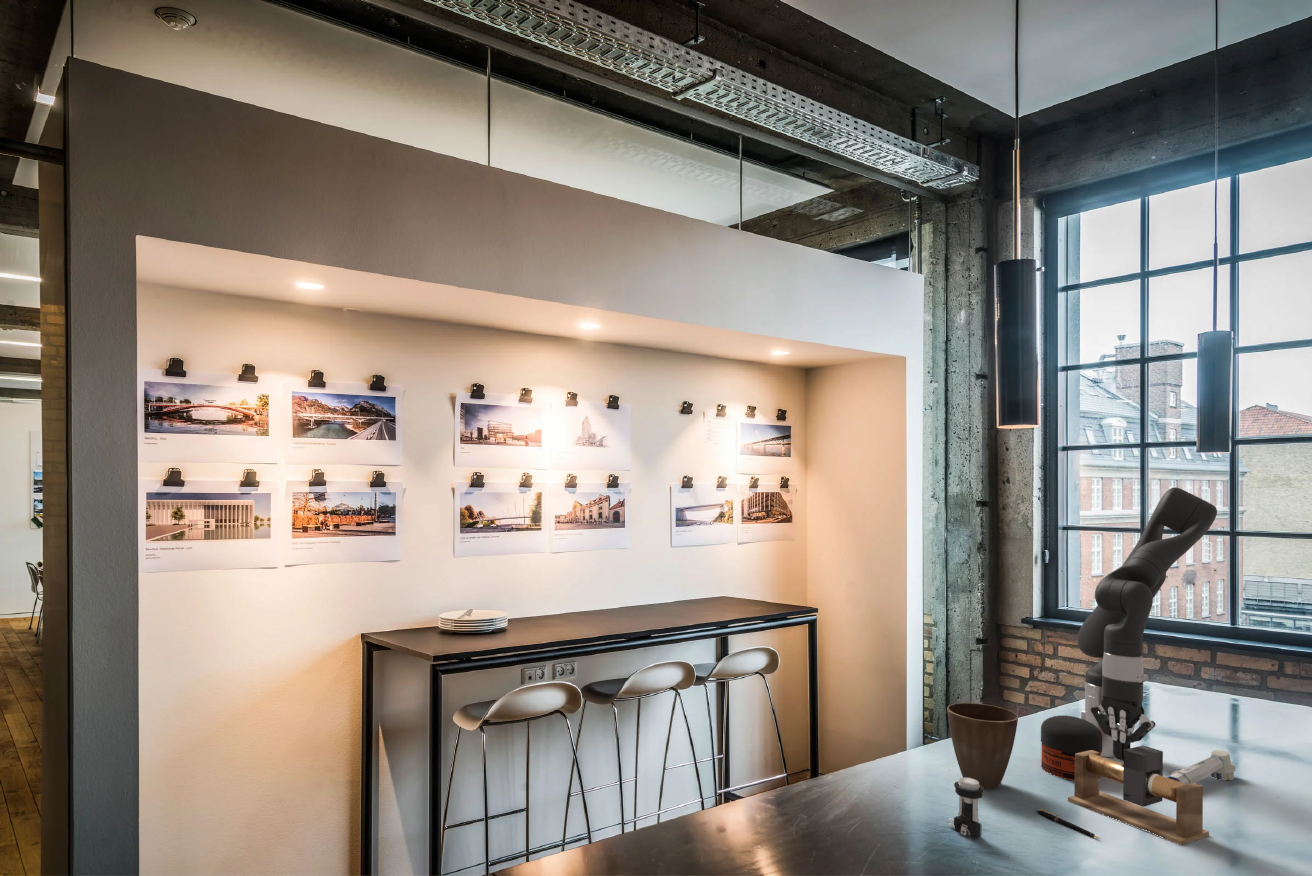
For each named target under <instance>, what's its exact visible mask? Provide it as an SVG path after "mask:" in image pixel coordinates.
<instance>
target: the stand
mask: <svg viewBox="0 0 1312 876" xmlns="http://www.w3.org/2000/svg"><path fill="white" fill-rule="evenodd" d="M1090 754H1096V755H1100V753H1099V752H1096V751H1093V750H1089V751H1085V752H1081V753H1076V754H1075V781H1074V795H1072V796H1068V797H1067V802H1070V803H1072V804H1074V805H1077V806H1079V807H1081V808H1084V809H1087V810H1090V811H1092V812H1094V811H1095V813H1097V812H1098V813H1097V814H1100V815H1102V814H1104V815H1103V816H1105V817H1107V816H1109V817H1108V818H1110V817H1111V819H1112V818H1114V819H1113V820H1115V819H1117V820H1116V821H1118V820H1120V821H1122V822H1121V823H1123V822H1124V823H1123V824H1125V823H1127V824H1126V825H1128V824H1130V825H1133V826H1135V827H1138V828H1140V829H1139V830H1141V829H1144V830H1147V831H1150V832H1151V833H1154V834H1156V835H1158V836H1157V837H1159V836H1161V837H1163V838H1162V839H1164V840H1166V839H1168V840H1167V841H1169V840H1170V842H1171V841H1172V843H1174V842H1175V843H1174V844H1177V843H1178V844H1177V845H1179V846H1183V845H1187V844H1189V843H1192V842H1195V841H1198V840H1200V839H1203V838H1206V837H1208V836H1210V831H1209V830H1206V829H1204V828H1203V827H1204V826H1203V825H1204V824H1203V822H1204V821H1203V819H1204V816H1203V813H1204V811H1203V810H1204V803H1203V801H1204V786H1203V785H1201V784H1198V783H1196V784H1195V783H1191V784H1187V785H1184V786H1180V787H1177V789H1176V802H1175V803H1176V807H1175V808H1176V809H1175V813H1176V814H1175V818H1174V817H1171V816H1168V815H1165V814H1164V813H1160V812H1157V811H1154V810H1152V809H1149V808H1146V807H1142V806H1139V805H1136V804H1134V803H1131V802H1128V801H1125V800H1123V798H1118V797H1116V796H1114V795H1111V794H1109V793H1106V792H1102V791H1100V779H1099V775H1096V774H1093V773H1090V772H1088V771H1087V769H1086V759H1087V757H1088V756H1089V755H1090ZM1120 821H1119V822H1120ZM1130 825H1129V826H1130ZM1133 826H1132V827H1133ZM1135 827H1134V828H1135ZM1138 828H1137V829H1138ZM1151 833H1150V834H1151ZM1156 835H1155V836H1156ZM1161 837H1160V838H1161ZM1186 843H1187V844H1186Z"/></svg>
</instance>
